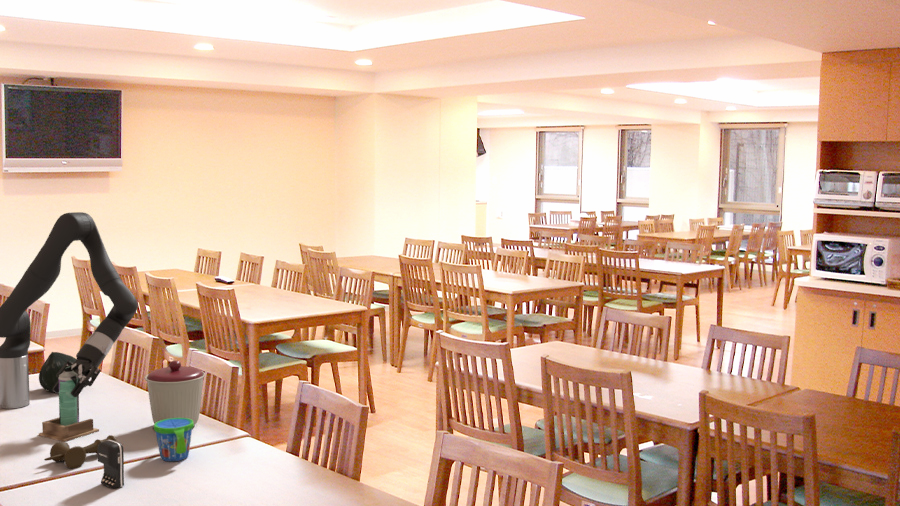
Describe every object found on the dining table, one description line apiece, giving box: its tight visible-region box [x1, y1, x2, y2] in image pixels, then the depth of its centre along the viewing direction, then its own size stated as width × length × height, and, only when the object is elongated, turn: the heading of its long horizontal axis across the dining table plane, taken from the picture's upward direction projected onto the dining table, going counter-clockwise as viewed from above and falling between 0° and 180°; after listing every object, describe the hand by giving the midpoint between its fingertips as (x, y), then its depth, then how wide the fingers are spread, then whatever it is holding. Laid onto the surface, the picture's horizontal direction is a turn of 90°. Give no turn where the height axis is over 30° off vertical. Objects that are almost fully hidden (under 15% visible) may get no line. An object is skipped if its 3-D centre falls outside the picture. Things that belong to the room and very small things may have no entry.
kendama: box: [43, 434, 118, 470], centre depth 228 cm, size 6×10×20 cm
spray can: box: [58, 366, 80, 426], centre depth 251 cm, size 6×6×20 cm
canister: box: [144, 360, 206, 426], centre depth 259 cm, size 18×18×21 cm
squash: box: [38, 351, 77, 393], centre depth 300 cm, size 14×15×15 cm
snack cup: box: [153, 418, 195, 462], centre depth 231 cm, size 16×10×10 cm
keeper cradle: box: [38, 417, 100, 443], centre depth 252 cm, size 12×12×4 cm
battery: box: [96, 440, 125, 489], centre depth 210 cm, size 7×4×11 cm, turn 54°
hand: (63, 393), depth 249 cm, fingers open, 8 cm apart
